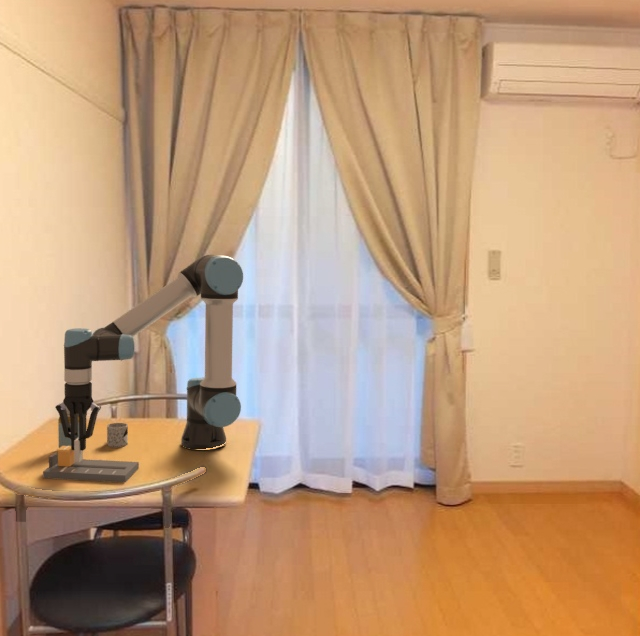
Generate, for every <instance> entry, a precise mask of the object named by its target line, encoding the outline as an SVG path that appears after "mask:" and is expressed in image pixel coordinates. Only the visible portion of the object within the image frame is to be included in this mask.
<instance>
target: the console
mask: <svg viewBox="0 0 640 636" xmlns="http://www.w3.org/2000/svg"><path fill="white" fill-rule="evenodd" d="M139 465H140V463H139V461H126V460H125V461H123V460H103V459H102V460H101V459H86V458H85V459H84V458H83V460H82V461H80V462H75V463H74V464H72V465H71V466H70V467H68V466H58V452H54V453H53V454H51V455H49V456H48V467H47V468H46V469H44V470H43V471H42V478H43V479H49V478H51V480H69V481H73V480H74V481H92V482H93V481H94V482H109V481H111V482H114V483H127V481H128V480H129V479H130V478H131V477H132V476H133V475H134V474H135V473H136V472H137V471H138V470H139V469H140V466H139Z"/></svg>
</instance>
